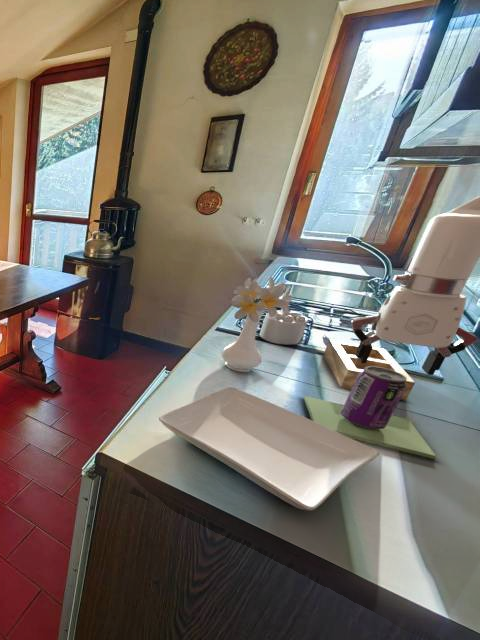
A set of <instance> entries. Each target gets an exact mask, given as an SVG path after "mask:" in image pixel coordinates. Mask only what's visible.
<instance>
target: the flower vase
mask: <svg viewBox="0 0 480 640" xmlns="http://www.w3.org/2000/svg"><path fill="white" fill-rule="evenodd" d="M257 280H258V278H257V277H256V278H254V279H253V280H252V279H251V278H250V277H247V279H245V281H244V284H243V286H242V285H238V286H236V288H235V289H234V290H233V291H232V294H235V295H234V296H233V298H232V299H230V302H229V303H230V305H231V306H232V307H234V308H237V309H238V310H236V312H235V313H234V319H236V320H241V319H243V318H245V317H246V319H245V321H244V324H243V327H242V330H241V332H240V334H239V335H238V337H237V338H236V339H235V341H234V342H232V343H230V344H227V345H226V346H224V347H223V349H222V351H221V354H220V356H221V358H222V360H223V361H224V365H225V367H226V368H228V369H230V370H232V371H235V372H240V373H249V372H251V371H252V369H255V368H256V367H258V366H260V365H261V364H262V359H263V358H262V354H261V352H260V351H259V349H258V348H257V344H256V335H257V331H258V327H259V324H260V320H261V318H262V316H263V314H264V312H265V311H266V310H267V313H269V315H270V316H271V317H275V316H276V313H277V311H278V310H277V308H280V310H282V311H283V313H284V315H285V311H286V313H287V314H288V315H289V313H290V311H291V310H290V303H291V302H292V301H293V299H294V295H293V294H290V293H291V290H292V285H290V286H288V288H287V289H286V287H287V285H286V283H285V282H278V283H277V284H276V281H275V280H274V278H273V276H269V277H268V285H266V286H265V287H262V286H261V285H259V284H258V282H257ZM284 290H285V292H284Z"/></svg>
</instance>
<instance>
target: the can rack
mask: <svg viewBox="0 0 480 640" xmlns="http://www.w3.org/2000/svg"><path fill="white" fill-rule="evenodd" d="M358 346H359V344H357V343H351V342H346V341H340V340H333V339H329V340H328V342H327V344H326V347H325V349H324V352H323V358H324V360H325V361H326V363H327V364H328V366H329V368H330V371H331V372H332V373H333V375H334V378H335V380H336V381H337V383H338V385H339V387H340V388H343V389H349V390H351V389H352V387H353V385H354V383H355V381H356V379H357V376H358V375H359V373H361V372H362V371H364V369H365V367H367V366H375V367H382V368H386V369H390V370H393V371H396V372H398V373H401V374H402V375H404V376H405V377H406V378H407V380H406V381H405V384H406V389H405V391H404V393H403V395H402V397H401V398H400V400H402V401H407V399H408V398H409V395H410V394H411V392H412V389H413V388H414V386H415V384H416V382H415V381H414V379H413V378H412V377H411V376H410V375H409V374H408V373H407V372H406V371H405V369H404V368H403V367H402V366H401V365H400V364H399V363H398V362H397V361H396V359H395V358H393V356H392V355H391V353H389V351H388V350H386V349H385V348H383V347H382V348H381V347H375V346H373V348H372V350H371V353H370V355H369V357H368V360H367V362H366V363H364V364H363V363H360V362H359V360H358V359H357V357H356V356H355V354H356V351H357V349H358Z"/></svg>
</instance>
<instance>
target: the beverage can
mask: <svg viewBox="0 0 480 640" xmlns="http://www.w3.org/2000/svg"><path fill="white" fill-rule="evenodd" d="M406 380H407V378H406V377H405V376H404V375H402V374H401V373H398V372H396V371H393V370H390V369H386V368H382V367H375V366H367V367H365V369H364V371H362V372H361V373H359V375H358V376H357V379H356V381H355V383H354V385H353V387H352V389H350V392H349V394H348V396H347V398H346V400H345V402H344V404H343V405H344V407H343V409H342V411H341V414H342V415H343V416H344V417H345V418H346V419H347V420H349V421H350V422H352V423H353V424H355V425H358V426H361V427H364V428H369V429H383V428H385V427H386V425H387V423H388V421H389V420H390V418H391V416H393V414H394V412H395V410H396V408H397V406H398V404H399V402H400V400H401V399H400V398H401V397H402V395H403V393H404V391H405V389H406V384H405V381H406Z"/></svg>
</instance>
